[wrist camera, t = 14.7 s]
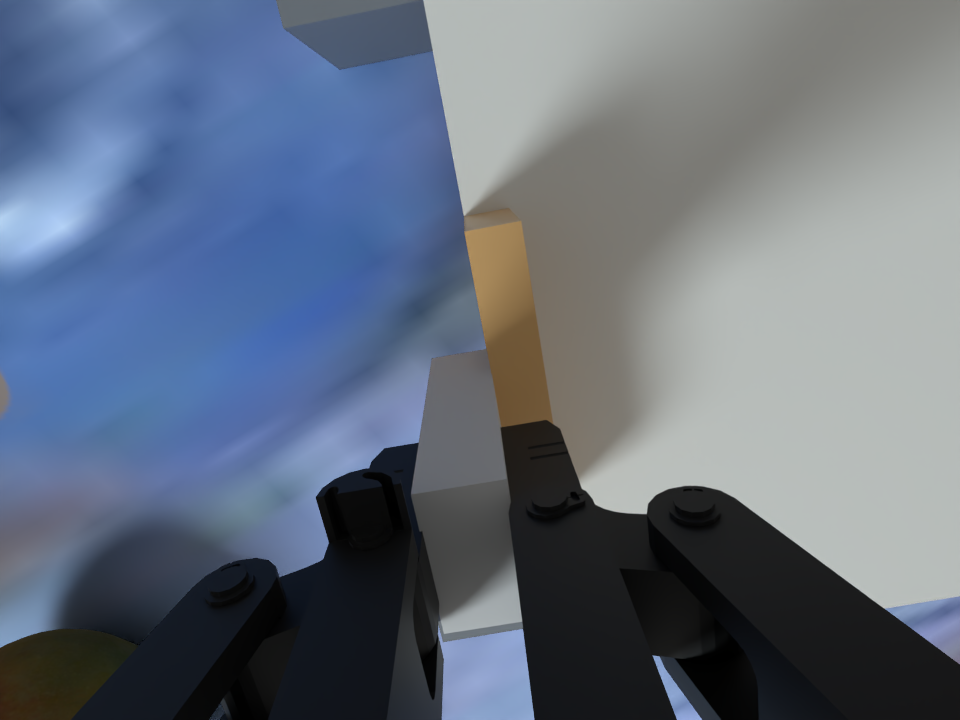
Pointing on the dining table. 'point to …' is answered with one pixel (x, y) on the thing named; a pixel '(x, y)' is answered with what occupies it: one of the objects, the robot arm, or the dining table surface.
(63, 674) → the fruit
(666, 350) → the lid
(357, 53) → the housing
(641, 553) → the robot arm
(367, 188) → the dining table surface
